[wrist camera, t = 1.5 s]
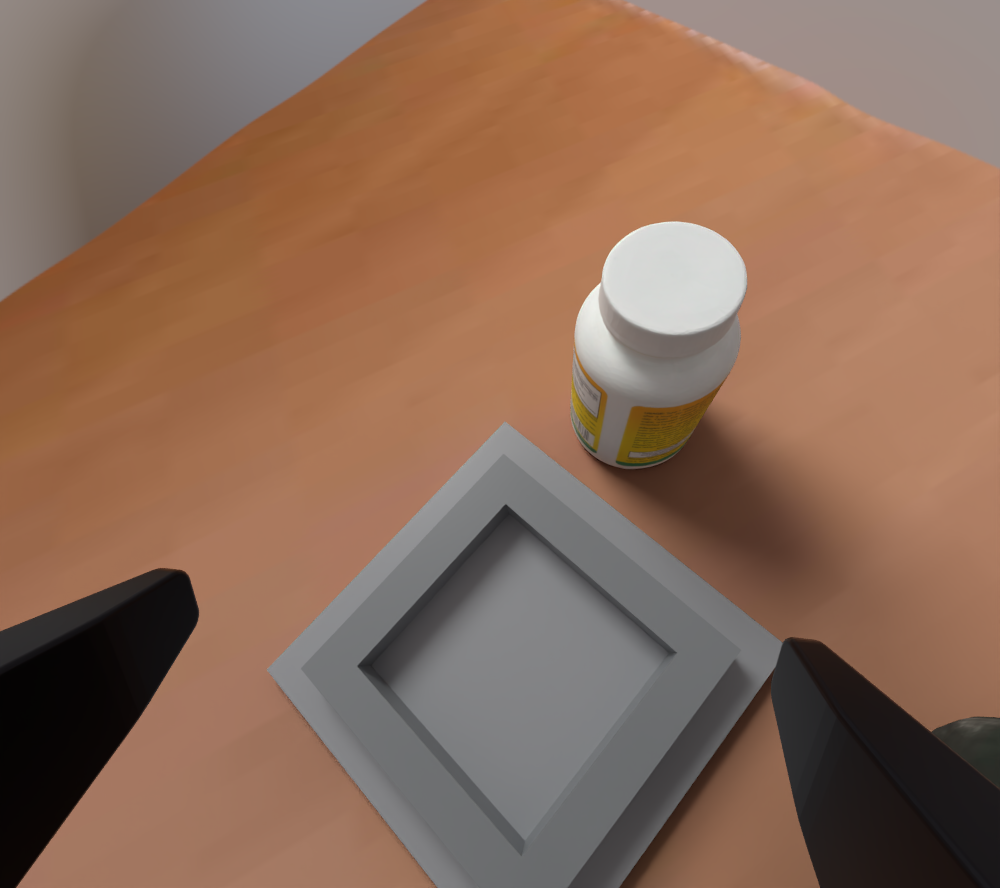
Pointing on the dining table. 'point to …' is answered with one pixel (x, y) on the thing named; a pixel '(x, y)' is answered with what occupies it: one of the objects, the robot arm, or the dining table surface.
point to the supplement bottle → (655, 342)
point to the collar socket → (525, 678)
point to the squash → (975, 743)
